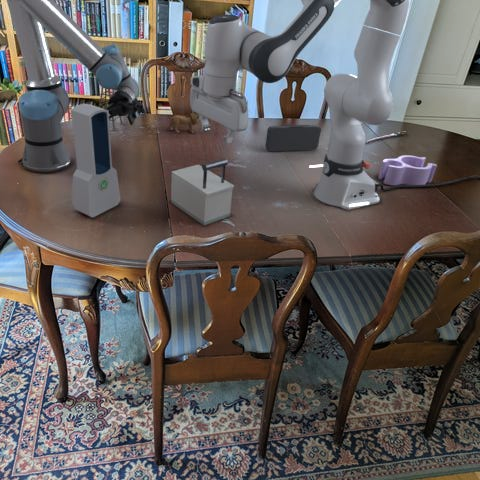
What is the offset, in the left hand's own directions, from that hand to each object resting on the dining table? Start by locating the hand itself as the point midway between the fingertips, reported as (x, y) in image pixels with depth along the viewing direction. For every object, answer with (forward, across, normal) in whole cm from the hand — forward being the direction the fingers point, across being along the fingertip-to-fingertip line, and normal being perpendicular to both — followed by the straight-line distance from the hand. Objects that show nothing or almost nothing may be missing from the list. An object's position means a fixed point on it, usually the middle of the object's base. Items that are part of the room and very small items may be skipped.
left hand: (108, 126), depth 138 cm
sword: (-67, -96, -59) cm, 131 cm away
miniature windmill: (-55, +20, -18) cm, 61 cm away
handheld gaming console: (-44, -52, -42) cm, 80 cm away
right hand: (+13, -32, -6) cm, 35 cm away
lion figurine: (-56, -10, -28) cm, 63 cm away
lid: (+10, -24, -19) cm, 32 cm away
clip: (-23, -91, -55) cm, 108 cm away
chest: (+10, -20, -28) cm, 36 cm away
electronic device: (+14, +8, -18) cm, 24 cm away
